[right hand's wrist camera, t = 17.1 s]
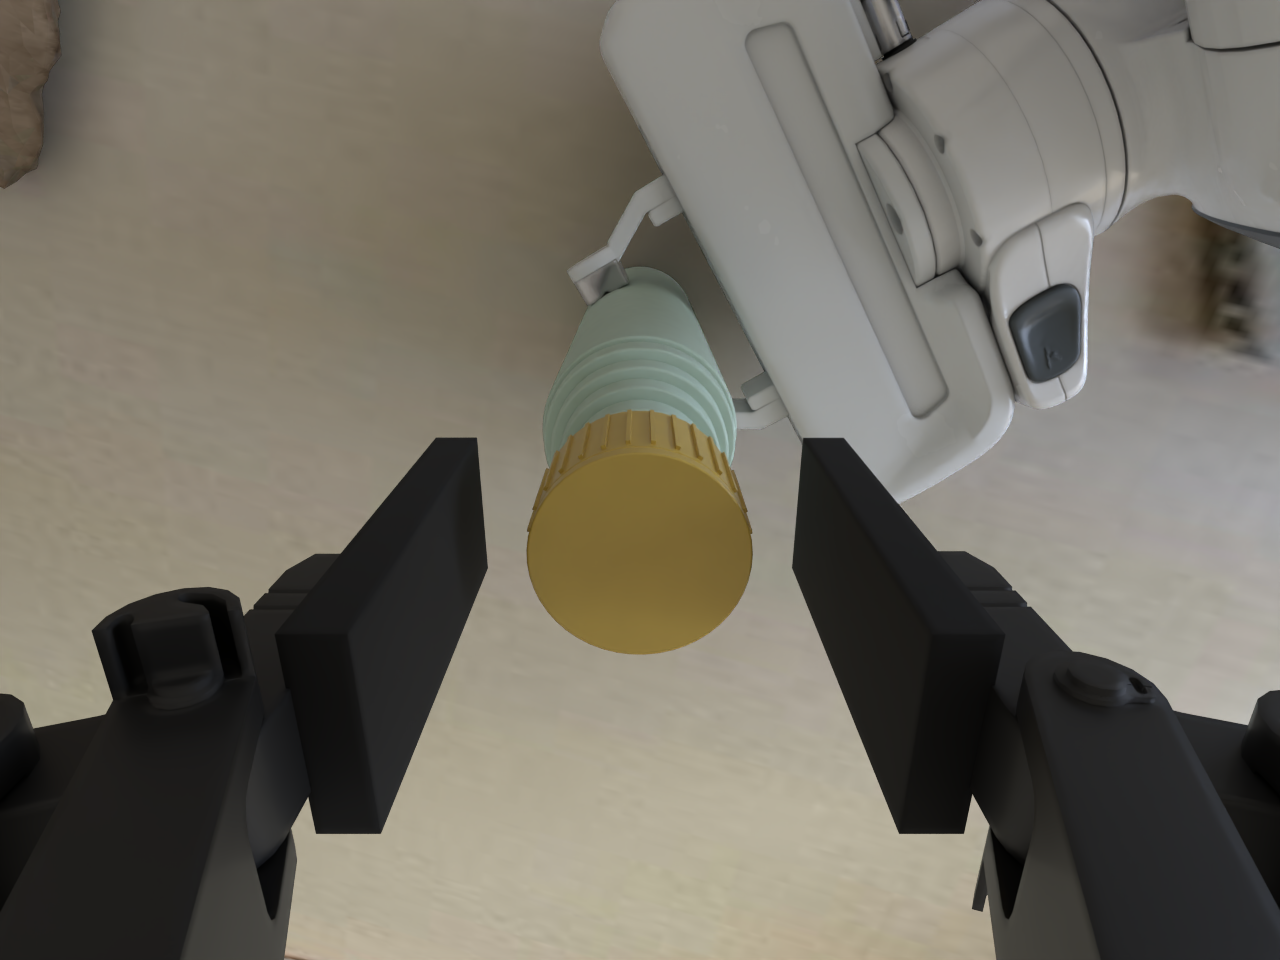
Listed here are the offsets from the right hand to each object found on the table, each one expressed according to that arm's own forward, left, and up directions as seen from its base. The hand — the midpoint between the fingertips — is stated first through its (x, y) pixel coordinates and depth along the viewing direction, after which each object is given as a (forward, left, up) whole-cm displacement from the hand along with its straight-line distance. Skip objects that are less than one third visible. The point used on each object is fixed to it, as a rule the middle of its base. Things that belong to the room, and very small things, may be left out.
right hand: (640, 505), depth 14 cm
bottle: (0, 0, -22) cm, 22 cm away
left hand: (0, -1, -15) cm, 15 cm away
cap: (0, 0, +2) cm, 2 cm away
